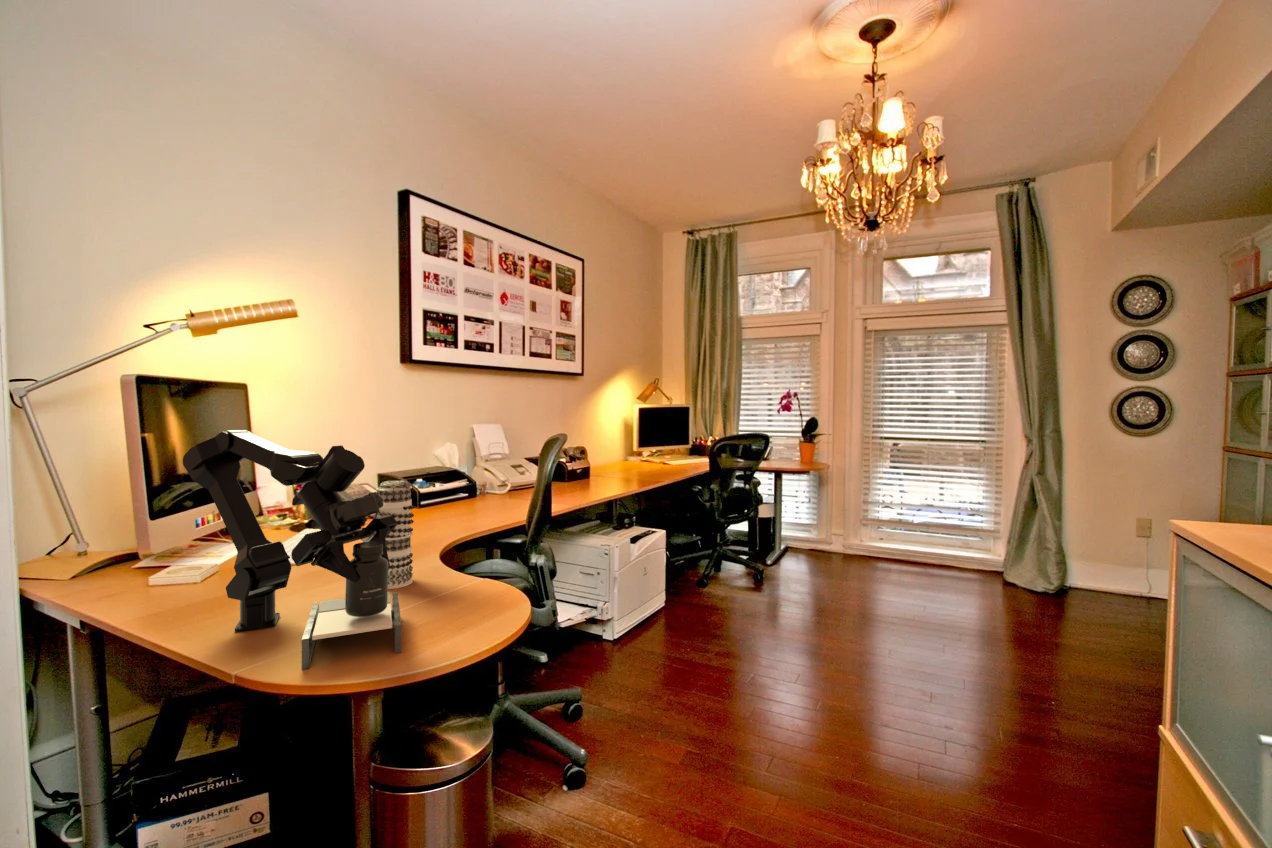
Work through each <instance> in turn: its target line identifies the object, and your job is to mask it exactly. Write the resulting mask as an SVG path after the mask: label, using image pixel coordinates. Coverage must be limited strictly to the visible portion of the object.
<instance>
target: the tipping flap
mask: <svg viewBox="0 0 1272 848" xmlns="http://www.w3.org/2000/svg"><path fill="white" fill-rule="evenodd" d="M391 610H392V603H391V593H390V592H388V597H387V607H386V609H385V610H384V611H383V612H381V613H378V614H375V615H371V616H365V617H354V616H350V615H348V614H347V613H346V611H345V598H344V597H343V598H337V599H336V598H335V599H328V600H321V602H320V604H319V613H318V617H317V621H316V624H315V628H314V632H313V635H312V640H316V641H317V640H322V639H328V638H335V637H341V636H347V635H348V636H349V635H355V634H362V633H366V632H367V633H368V632H374V631H380V630H381V631H382V630H388V629H393V621H392V616H391Z"/></svg>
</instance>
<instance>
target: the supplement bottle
mask: <svg viewBox="0 0 1272 848" xmlns="http://www.w3.org/2000/svg"><path fill="white" fill-rule="evenodd" d="M382 554H383V544H382V543H381V542H363V541H362V542H359V543H358V542H357V543H355V544H353V546H352V554H351V555H352V557H353V558H352V559H351V560H349V561H350V562H351V564H352V565H353V567H354V569H355V570H356V572H357V574H358V576H359V580H358V581H357V582H352V581H350V580H348V579H346V578H345V611H346V613H347V614H348V615H350V616H354V617H365V616H371V615H375V614H378V613H381V612H383V611H384V610H385V609H386V607H387V597H388V593H389V589H388V561H387V560H386V559H385V558H384V557H382V556H381V555H382Z"/></svg>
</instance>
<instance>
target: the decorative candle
mask: <svg viewBox="0 0 1272 848" xmlns="http://www.w3.org/2000/svg"><path fill="white" fill-rule="evenodd" d="M375 489H376V492H377V493H378V495H379V496H380V497H381V498H382V501H383V507H381V508H379V512H378V513H373V514H374V515H373V518H372V519H374V518H377V517H381V516H385V515H391V516H393V517H394V519H395V520H396V521H397V523H398V525H397V526H396V527H395V528H394V529H393V530H392V531H391V532H390V533H389V535H388V536H387V537H386V539H385V542H386V550H387V554H388V559H389V563H390V569H389V570H388V590H392V589H393V590H394V589H400V588H405V587H407V586H409V585H411V584H412V583H413V581H414V580H413V568H414V567H413V565H411V564H413V562H414V561H413V559H412V558H413V553H412V546H411V544H412V543H411V542H412V541H411V540H412V538H411V537H412V536H413V535H414V534H413V532H414V528H412V527H411V525H412V524H413V523H414V522H415V521H414V520H413V519H412V518H413V517H414V516H415V514H414V513H412V510H414V509H415V505H413V503H412V500H413V499H412V497H411V496H412V492H411V490H412V489H413V487H412V486H410V485H409V483H408V482H407V481H406V480H386V481H382V482H380V484H379V486H378V487H377V488H375Z"/></svg>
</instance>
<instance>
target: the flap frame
mask: <svg viewBox="0 0 1272 848" xmlns="http://www.w3.org/2000/svg"><path fill="white" fill-rule="evenodd" d="M391 599H392V603H391V616H392V629H393V630H392V631H393V641H394V642H393V643H394V644H393V645H394V654H395V655H397V654H401V653H402V618H401V611H400V610H401V608H400V602H399V594H398V592H392V593H391ZM319 609H320V602H312V605H311V609H310V611H309V614H308V615H309V616H308V618H307V621H306V624H305V628H304V630H303V635H302V637H301V670H306V669H307V670H308V669H310V666H311V662H312V657H313V654H314V650H315V645H316V641H317V639H316V640H312V635H313V632H314V628H315V624H316V621H317V617H318V613H319Z"/></svg>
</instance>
